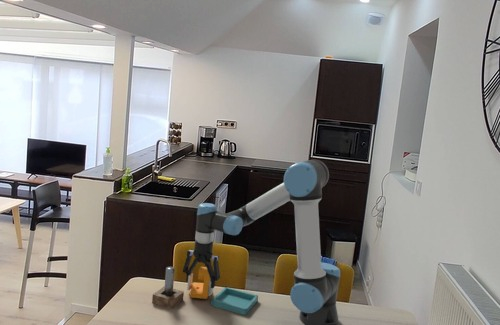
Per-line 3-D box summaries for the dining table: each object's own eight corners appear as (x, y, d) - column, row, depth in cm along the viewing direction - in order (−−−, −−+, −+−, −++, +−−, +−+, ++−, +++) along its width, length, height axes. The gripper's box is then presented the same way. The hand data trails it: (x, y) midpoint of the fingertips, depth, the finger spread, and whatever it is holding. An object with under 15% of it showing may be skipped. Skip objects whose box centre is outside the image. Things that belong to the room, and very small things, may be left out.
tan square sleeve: (183, 299, 186) (183, 291, 186) (171, 308, 178) (172, 300, 177) (163, 294, 189) (164, 286, 189) (152, 302, 181) (152, 294, 180)
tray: (257, 301, 192) (258, 295, 191) (245, 315, 179) (246, 309, 178) (225, 292, 197) (225, 286, 196) (211, 305, 184) (211, 299, 183)
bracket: (192, 287, 197) (194, 261, 195) (209, 289, 197) (211, 263, 195) (189, 299, 186) (191, 271, 185) (207, 300, 187) (209, 273, 185)
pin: (173, 300, 184) (176, 267, 182) (169, 303, 181) (171, 270, 179) (166, 298, 186) (168, 265, 183) (161, 301, 182) (164, 268, 180)
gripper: (231, 243, 188) (226, 294, 192) (185, 233, 195) (181, 282, 199) (224, 248, 181) (219, 301, 185) (176, 237, 188) (172, 289, 192)
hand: (199, 291), depth 192 cm, fingers closed on bracket, 9 cm apart
